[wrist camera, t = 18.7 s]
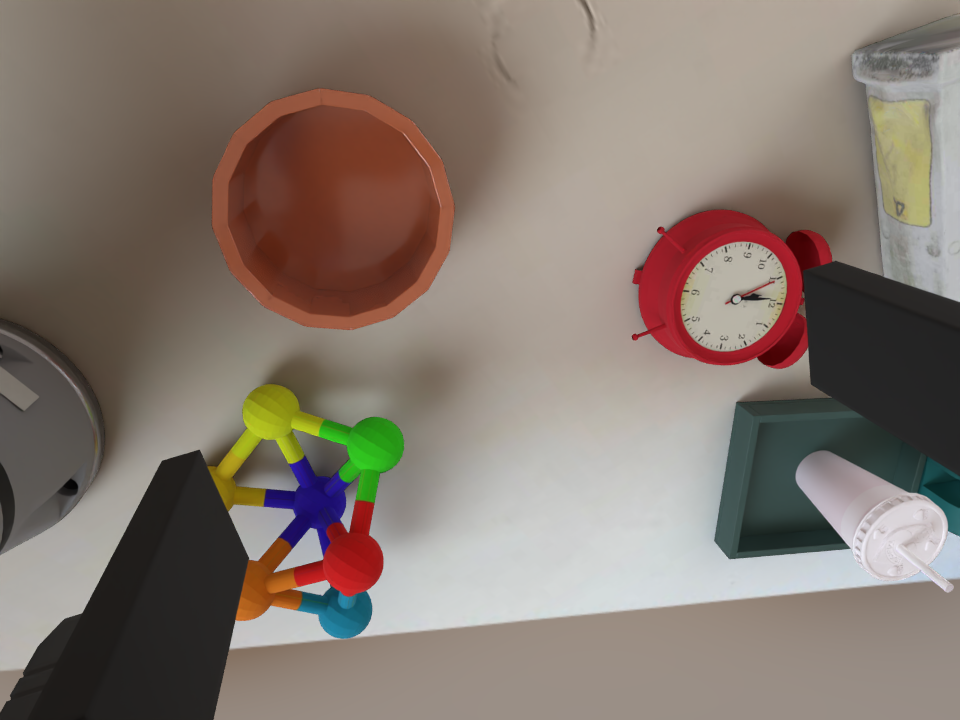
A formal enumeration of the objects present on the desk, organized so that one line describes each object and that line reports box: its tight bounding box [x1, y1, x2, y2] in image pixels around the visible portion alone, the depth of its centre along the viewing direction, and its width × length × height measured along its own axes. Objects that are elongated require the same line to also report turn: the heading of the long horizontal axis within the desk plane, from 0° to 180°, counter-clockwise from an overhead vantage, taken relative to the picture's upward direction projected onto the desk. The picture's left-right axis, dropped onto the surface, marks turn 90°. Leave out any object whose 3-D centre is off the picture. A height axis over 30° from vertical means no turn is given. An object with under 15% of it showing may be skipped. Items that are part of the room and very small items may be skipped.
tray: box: [714, 398, 927, 559], centre depth 55 cm, size 15×12×2 cm
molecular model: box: [207, 384, 404, 639], centre depth 45 cm, size 15×10×15 cm
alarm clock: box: [632, 210, 832, 369], centre depth 47 cm, size 10×6×15 cm
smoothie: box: [796, 450, 953, 592], centre depth 49 cm, size 6×6×14 cm
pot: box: [212, 88, 455, 330], centre depth 40 cm, size 13×13×6 cm
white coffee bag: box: [852, 13, 960, 302], centre depth 45 cm, size 19×8×8 cm, turn 16°
